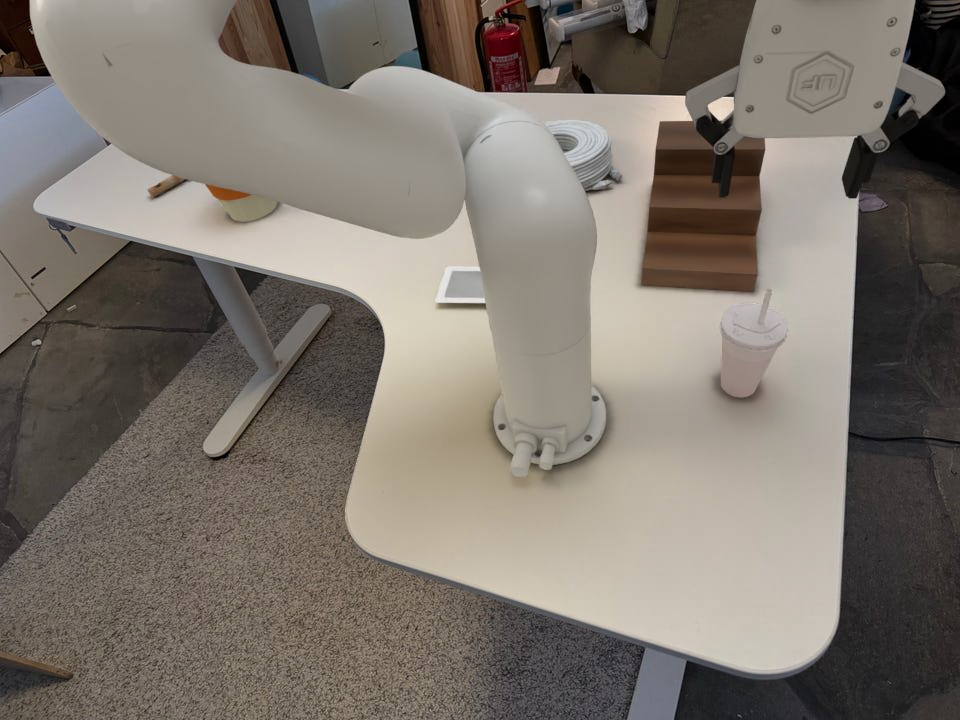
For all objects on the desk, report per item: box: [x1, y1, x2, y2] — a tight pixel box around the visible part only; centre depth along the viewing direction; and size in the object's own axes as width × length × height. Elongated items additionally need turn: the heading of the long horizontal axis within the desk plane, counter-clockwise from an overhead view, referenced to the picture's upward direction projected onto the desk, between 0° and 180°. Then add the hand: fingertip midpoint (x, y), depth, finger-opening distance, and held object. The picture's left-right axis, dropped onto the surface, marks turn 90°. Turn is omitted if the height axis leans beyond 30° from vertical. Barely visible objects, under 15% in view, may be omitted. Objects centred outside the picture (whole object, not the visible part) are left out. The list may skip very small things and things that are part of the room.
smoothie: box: [719, 288, 789, 399], centre depth 63 cm, size 6×6×14 cm
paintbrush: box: [147, 175, 185, 198], centre depth 122 cm, size 4×3×20 cm
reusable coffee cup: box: [204, 184, 279, 223], centre depth 105 cm, size 12×13×15 cm
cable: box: [542, 119, 623, 192], centre depth 101 cm, size 18×18×6 cm
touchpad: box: [434, 265, 486, 304], centre depth 84 cm, size 8×15×2 cm, turn 80°
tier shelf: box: [640, 120, 766, 293], centre depth 83 cm, size 24×14×11 cm, turn 165°
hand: (784, 189), depth 51 cm, fingers open, 9 cm apart
